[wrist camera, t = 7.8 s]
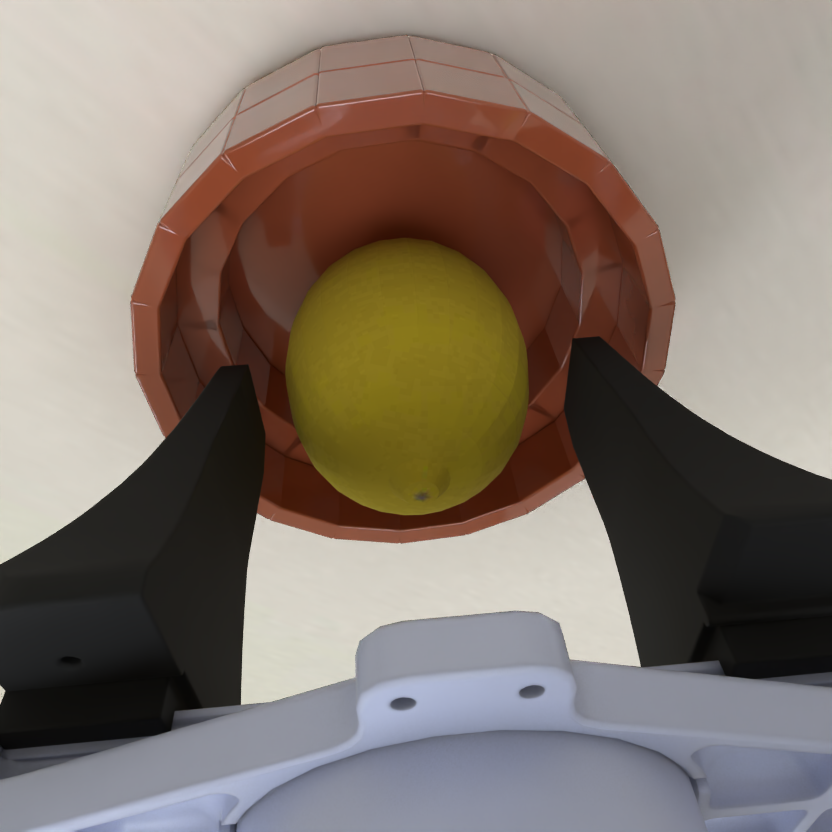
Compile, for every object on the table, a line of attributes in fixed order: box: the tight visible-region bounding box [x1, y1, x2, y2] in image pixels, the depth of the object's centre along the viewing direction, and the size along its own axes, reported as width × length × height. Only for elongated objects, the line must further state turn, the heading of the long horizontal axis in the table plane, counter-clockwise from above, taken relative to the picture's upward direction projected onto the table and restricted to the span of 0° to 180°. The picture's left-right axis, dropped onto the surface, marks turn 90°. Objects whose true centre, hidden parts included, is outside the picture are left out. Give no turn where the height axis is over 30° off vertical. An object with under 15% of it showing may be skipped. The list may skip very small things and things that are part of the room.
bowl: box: [130, 35, 675, 543], centre depth 18 cm, size 12×12×5 cm
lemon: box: [285, 238, 529, 515], centre depth 16 cm, size 6×6×8 cm
